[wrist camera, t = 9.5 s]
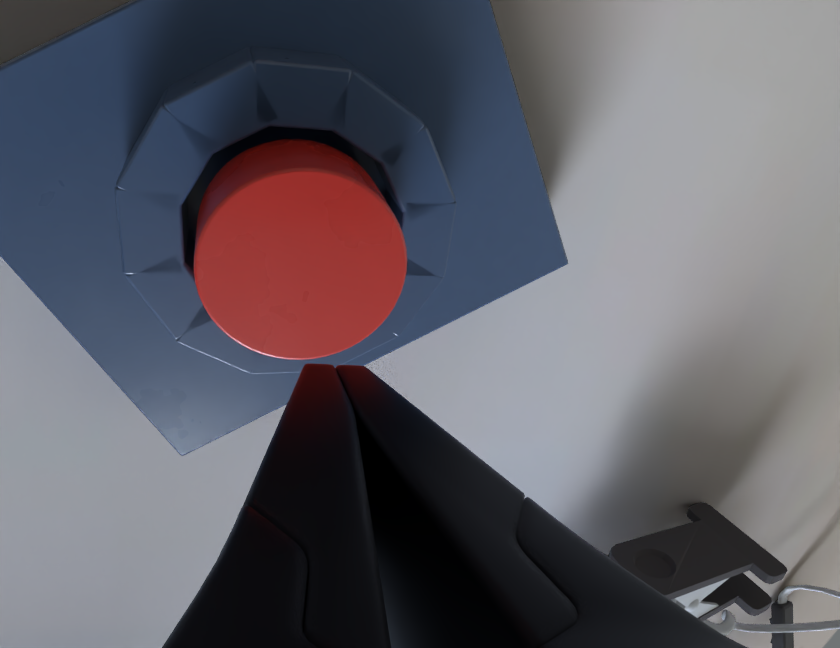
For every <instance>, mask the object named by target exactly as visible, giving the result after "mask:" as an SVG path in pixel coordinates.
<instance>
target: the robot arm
mask: <svg viewBox="0 0 840 648" xmlns="http://www.w3.org/2000/svg"><path fill="white" fill-rule="evenodd" d="M524 497H525V495H524V493H523V492H521V491H520V490H519V489H518V488H516V487H515V486H514V485H513V484H511V483H510V482H509V481H508V480H506V479H505V478H504V477H503V476H501V475H500V474H499V473H498V472H496V471H495V470H494V469H493V468H491V467H490V466H489V465H488V464H486V463H485V462H484V461H483V460H481V459H480V458H479V457H478V456H476V455H475V454H474V453H473V452H471V451H470V450H469V449H468V448H466V447H465V446H464V445H463V444H461V443H460V442H459V441H458V440H456V439H455V438H454V437H453V436H451V435H450V434H449V433H448V432H446V431H445V430H444V429H443V428H441V427H440V426H439V425H438V424H436V423H435V422H434V421H433V420H431V419H430V418H429V417H428V416H426V415H425V414H424V413H423V412H421V411H420V410H419V409H418V408H416V407H415V406H414V405H413V404H411V403H410V402H409V401H408V400H406V399H405V398H404V397H403V396H401V395H400V394H399V393H398V392H396V391H395V390H394V389H393V388H391V387H390V386H389V385H388V384H386V383H385V382H384V381H383V380H381V379H380V378H379V377H378V376H376V375H375V374H374V373H373V372H371V371H370V370H369V369H368V368H366V367H365V366H359V365H338V366H336V368H335V367H334V366H333V365H331V364H311V363H309V364H305V365H304V367H303V369H302V371H301V373H300V376H299V378H298V380H297V383H296V385H295V387H294V389H293V392H292V394H291V396H290V399H289V401H288V403H287V406H286V408H285V410H284V412H283V415H282V417H281V419H280V422H279V424H278V426H277V429H276V431H275V433H274V436H273V438H272V440H271V442H270V445H269V447H268V449H267V452H266V454H265V456H264V459H263V461H262V463H261V466H260V468H259V470H258V472H257V475H256V477H255V479H254V482H253V484H252V486H251V489H250V491H249V493H248V495H247V498H246V500H245V502H244V505H243V507H242V508H241V511H240V513H239V515H238V517H237V520H236V522H235V524H234V527H233V529H232V531H231V533H230V535H229V537H228V539H227V541H226V543H225V545H224V547H223V549H222V551H221V553H220V555H219V557H218V559H217V561H216V563H215V565H214V566H213V568H212V570H211V571H210V573H209V575H208V576H207V578H206V580H205V581H204V583H203V585H202V586H201V588H200V590H199V591H198V593H197V595H196V596H195V598H194V600H193V601H192V603H191V604H190V606H189V607H188V609H187V610H186V612H185V613H184V615H183V616H182V618H181V619H180V621H179V623H178V624H177V626H176V627H175V629H174V630H173V632H172V633H171V635H170V636H169V638H168V639H167V641H166V642H165V644H164V645H163V647H162V648H747V647H745V646H743V645H741V644H739V643H737V642H735V641H733V640H731V639H729V638H727V637H726V636H724V635H723V634H721V633H719V632H718V631H716V630H715V629H713V628H711V627H710V626H708V625H707V624H706V623H704V622H703V621H701V620H700V619H698V618H697V617H695V616H694V615H692V614H691V613H689V612H688V611H686V610H685V609H683V608H682V607H680V606H679V605H678V604H676V603H675V602H673V601H672V600H670V599H669V598H667V597H666V596H664V595H663V594H661V593H660V592H658V591H657V590H655V589H654V588H653V587H651V586H650V585H648V584H647V583H645V582H644V581H642V580H641V579H639V578H638V577H636V576H635V575H633V574H632V573H630V572H629V571H627V570H626V569H625V568H623V567H622V566H620V565H619V564H617V563H616V562H614V561H613V560H612V559H610V558H609V557H607V556H606V555H604V554H603V553H602V552H600V551H599V550H597V549H596V548H594V547H593V546H592V545H590V544H589V543H587V542H586V541H585V540H583V539H582V538H580V537H579V536H578V535H577V534H575V533H574V532H573V531H571V530H570V529H569V528H567V527H566V526H565V525H563V524H562V523H561V522H560V521H558V520H557V519H556V518H554V517H553V516H552V515H550V514H549V513H548V512H547V511H545V510H544V509H543V508H542V507H540V506H539V505H538V504H537V503H535V502H534V501H533V500H532V499H530V498H529V497H526V498H525V499H524Z"/></svg>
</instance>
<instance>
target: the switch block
mask: <svg viewBox="0 0 840 648" xmlns="http://www.w3.org/2000/svg"><path fill="white" fill-rule="evenodd" d="M282 139H304V140H311V141H316V142H319V143H323V144H326V145H329V146H331V147H333V148H336V149H338V150H340V151H341V152H343V153H345V154H347V155H348V156H350V157H351V158H352V159H353V160H355V161H356V162H357V163H358V164H359V165H360V166H361V167H362V168H363V169H364V170H365V171H366V172H367V173H368V174H369V176H370V177H371V178H372V180H373V181H374V183H375V184H376V186H377V187H378V189H379V191H380V192H381V194H382V195H383V197H384V199H385V200H386V202H387V203H388V205H389V207H390V208H391V210H392V212H393V213H394V215H395V217H396V219H397V220H398V222H399V224H400V227H401V230H402V232H403V235H404V239H405V243H406V249H407V272H406V277H405V282H404V285H403V288H402V291H401V294H400V296H399V298H398V300H397V302H396V304H395V306H394V308H393V309H392V311H391V312H390V314H389V315H388V317H387V318H386V319H385V320H384V322H383V323H382V324H381V325H380V326H379V327H378V328H377V329H376V330H375V331H374V332H373V333H371V334H370V335H369V336H368V337H366V338H365V339H363V340H362V341H361V342H359V343H357V344H355V345H354V346H352V347H350V348H348V349H345V350H343V351H341V352H339V353H335V354H332V355H329V356H325V357H320V358H315V359H304V360H290V359H281V358H275V357H271V356H267V355H263V354H260V353H258V352H255V351H252V350H250V349H248V348H246V347H244V346H242V345H241V344H239V343H237V342H236V341H235V340H233V339H232V338H230V337H229V336H228V335H227V334H226V333H224V332H223V331H222V330H221V329H220V328H219V327H218V326H217V325H216V323H215V322H214V321H213V320H212V319H211V318H210V316H209V314H208V313H207V311H206V310H205V308H204V306H203V304H202V302H201V299H200V297H199V295H198V291H197V288H196V284H195V278H194V251H195V239H196V228H197V218H198V212H199V207H200V204H201V201H202V198H203V195H204V193H205V191H206V189H207V187H208V185H209V183H210V182H211V181H212V179H213V178H214V176H215V175H216V174H217V173H218V171H219V170H220V169H221V168H222V167H223V166H224V165H225V164H226V163H228V162H229V161H230V160H231V159H233V158H234V157H235V156H237V155H238V154H240V153H242V152H244V151H245V150H247V149H249V148H252V147H254V146H256V145H259V144H262V143H266V142H270V141H274V140H282ZM0 256H1V257H2V258H3V259H4V260H5V261H6V263H7V264H8V265H9V266H10V267H11V268H12V269H13V270H14V271H15V273H16V274H17V275H18V276H19V277H20V278H21V279H22V280H23V281H24V282H25V284H26V285H27V286H28V287H29V288H30V289H31V290H32V291H33V292H34V294H35V295H36V296H37V297H38V298H39V299H40V300H41V301H42V302H43V303H44V305H45V306H46V307H47V308H48V309H49V310H50V311H51V312H52V313H53V315H54V316H55V317H56V318H57V319H58V320H59V321H60V322H61V323H62V324H63V326H64V327H65V328H66V329H67V330H68V331H69V332H70V333H71V334H72V336H73V337H74V338H75V339H76V340H77V341H78V342H79V343H80V344H81V345H82V347H83V348H84V349H85V350H86V351H87V352H88V353H89V354H90V355H91V357H92V358H93V359H94V360H95V361H96V362H97V363H98V364H99V365H100V366H101V368H102V369H103V370H104V371H105V372H106V373H107V374H108V375H109V376H110V378H111V379H112V380H113V381H114V382H115V383H116V384H117V385H118V386H119V387H120V389H121V390H122V391H123V392H124V393H125V394H126V395H127V396H128V397H129V399H130V400H131V401H132V402H133V403H134V404H135V405H136V406H137V407H138V408H139V410H140V411H141V412H142V413H143V414H144V415H145V416H146V417H147V418H148V420H149V421H150V422H151V423H152V424H153V425H154V426H155V427H156V428H157V429H158V431H159V432H160V433H161V434H162V435H163V436H164V437H165V438H166V439H167V441H168V442H169V443H170V444H171V445H172V446H173V447H174V448H175V449H176V450H177V452H178V453H179V454H180V455H181V456H183V455H185V454H187V453H189V452H191V451H193V450H195V449H197V448H199V447H201V446H203V445H205V444H207V443H209V442H211V441H213V440H215V439H217V438H219V437H221V436H223V435H226V434H228V433H230V432H232V431H234V430H236V429H238V428H240V427H242V426H244V425H246V424H248V423H250V422H252V421H254V420H256V419H258V418H260V417H262V416H264V415H266V414H268V413H270V412H272V411H274V410H276V409H278V408H280V407H282V406H284V405H286V404H287V403H288V401H289V399H290V396H291V394H292V392H293V389H294V387H295V385H296V383H297V380H298V378H299V376H300V373H301V371H302V369H303V367H304V365H305V364H309V363H311V364H331V365H333V366H334V367H335V368H336V366H338V365H359V366H364V365H366V364H368V363H370V362H372V361H374V360H376V359H378V358H380V357H382V356H384V355H386V354H388V353H390V352H392V351H394V350H396V349H398V348H400V347H402V346H404V345H406V344H408V343H410V342H412V341H414V340H416V339H418V338H420V337H422V336H424V335H426V334H428V333H430V332H432V331H434V330H436V329H438V328H440V327H442V326H444V325H446V324H448V323H450V322H452V321H454V320H456V319H458V318H460V317H462V316H464V315H466V314H468V313H470V312H472V311H474V310H476V309H478V308H480V307H482V306H484V305H486V304H488V303H490V302H492V301H494V300H496V299H498V298H500V297H502V296H504V295H506V294H508V293H510V292H512V291H514V290H516V289H518V288H520V287H522V286H524V285H526V284H528V283H530V282H532V281H534V280H536V279H538V278H540V277H542V276H544V275H546V274H548V273H550V272H552V271H554V270H556V269H558V268H560V267H562V266H564V265H566V264H568V260H567V257H566V254H565V250H564V247H563V244H562V240H561V237H560V234H559V230H558V227H557V224H556V220H555V217H554V214H553V210H552V207H551V204H550V200H549V197H548V194H547V190H546V187H545V184H544V180H543V177H542V174H541V170H540V167H539V164H538V160H537V157H536V154H535V150H534V147H533V144H532V140H531V137H530V134H529V130H528V127H527V124H526V120H525V117H524V114H523V110H522V107H521V104H520V100H519V97H518V94H517V90H516V87H515V84H514V80H513V77H512V74H511V70H510V67H509V64H508V60H507V57H506V54H505V50H504V47H503V44H502V40H501V37H500V34H499V30H498V27H497V24H496V20H495V17H494V14H493V10H492V7H491V4H490V0H131V1H129V2H127V3H125V4H123V5H121V6H119V7H117V8H115V9H113V10H111V11H109V12H107V13H105V14H103V15H101V16H99V17H97V18H95V19H93V20H91V21H88V22H86V23H84V24H82V25H80V26H78V27H76V28H74V29H72V30H70V31H68V32H66V33H64V34H62V35H60V36H58V37H56V38H54V39H52V40H50V41H48V42H46V43H44V44H42V45H40V46H38V47H36V48H34V49H32V50H30V51H28V52H26V53H23V54H21V55H19V56H17V57H15V58H13V59H11V60H9V61H7V62H5V63H3V64H1V65H0Z"/></svg>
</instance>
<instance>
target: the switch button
mask: <svg viewBox="0 0 840 648" xmlns="http://www.w3.org/2000/svg"><path fill="white" fill-rule="evenodd" d="M406 272H407V249H406V243H405V239H404V235H403V232H402V230H401V227H400V224H399V222H398V220H397V219H396V217H395V215H394V213H393V212H392V210H391V208H390V207H389V205H388V203H387V202H386V200H385V199H384V197H383V195H382V194H381V192H380V191H379V189H378V187H377V186H376V184H375V183H374V181H373V180H372V178H371V177H370V176H369V174H368V173H367V172H366V171H365V170H364V169H363V168H362V167H361V166H360V165H359V164H358V163H357V162H356V161H355V160H353V159H352V158H351V157H350V156H348V155H347V154H345V153H343V152H341V151H340V150H338V149H336V148H333V147H331V146H329V145H326V144H323V143H319V142H316V141H311V140H304V139H282V140H274V141H270V142H266V143H262V144H259V145H256V146H254V147H252V148H249V149H247V150H245V151H244V152H242V153H240V154H238V155H237V156H235V157H234V158H233V159H231V160H230V161H229V162H228V163H226V164H225V165H224V166H223V167H222V168H221V169H220V170H219V171H218V173H217V174H216V175H215V176H214V178H213V179H212V181H211V182H210V183H209V185H208V187H207V189H206V191H205V193H204V195H203V198H202V201H201V204H200V207H199V212H198V218H197V228H196V239H195V251H194V278H195V284H196V288H197V291H198V295H199V297H200V299H201V302H202V304H203V306H204V308H205V310H206V311H207V313H208V314H209V316H210V318H211V319H212V320H213V321H214V322H215V323H216V325H217V326H218V327H219V328H220V329H221V330H222V331H223V332H224V333H226V334H227V335H228V336H229V337H230V338H232V339H233V340H235V341H236V342H237V343H239V344H241V345H242V346H244V347H246V348H248V349H250V350H252V351H255V352H258V353H260V354H263V355H267V356H271V357H275V358H281V359H290V360H304V359H315V358H320V357H325V356H329V355H332V354H335V353H339V352H341V351H343V350H345V349H348V348H350V347H352V346H354V345H355V344H357V343H359V342H361V341H362V340H363V339H365V338H366V337H368V336H369V335H370V334H371V333H373V332H374V331H375V330H376V329H377V328H378V327H379V326H380V325H381V324H382V323H383V322H384V320H385V319H386V318H387V317H388V315H389V314H390V312H391V311H392V309H393V308H394V306H395V304H396V302H397V300H398V298H399V296H400V294H401V291H402V288H403V285H404V282H405V277H406Z"/></svg>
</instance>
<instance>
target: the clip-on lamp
mask: <svg viewBox="0 0 840 648" xmlns="http://www.w3.org/2000/svg"><path fill="white" fill-rule="evenodd" d="M686 514H687V517H688V518H689V519H690V520H691V521H692V522H693V523H689V524H686V525H682V526H679V527H675V528H672V529H668V530H665V531H661V532H658V533H654V534H651V535H647V536H644V537H640V538H637V539H633V540H630V541H626V542H623V543H619V544H616V545H615V546H613V547H612V548H611V551H610V553H609V556H608V557H609V558H610V559H612V560H613V561H614V562H616V563H617V564H619V565H620V566H622V567H623V568H625V569H626V570H627V571H629V572H630V573H632V574H633V575H635V576H636V577H638V578H639V579H641V580H642V581H644V582H645V583H647V584H648V585H650V586H651V587H653V588H654V589H655V590H657V591H658V592H660V593H661V594H663V595H664V596H666V597H667V598H669V599H670V600H672V601H673V602H675V603H676V604H678V605H679V606H680V607H682V608H683V609H685V610H686V611H688V612H689V613H691V614H692V615H694V616H695V617H697V618H698V619H700V620H701V621H703V622H704V623H706V624H707V625H708V626H710V627H711V628H713V629H715V630H716V631H718V632H719V633H721V634H723V635H727V634H729V633H730V632H731V631H732V630H733V629H735V630H739V631H745V632H761V633H772V639H771V643H772V648H794V640H793V632H806V631H822V630H831V629H839V628H840V620H834V621H824V622H813V623H795V624H793V604H792V602H790V601H787V596H788V595H789V594H790V593H791V592H792V591H793V590H798V589H806V590H811V591H817V592H822V593H825V594H828V595H831V596H835V597H838V598H840V592H837V591H834V590H831V589H827V588H822V587H816V586H811V585H797V586H787V587H786V588H785V589H784V590H783V591H782V592H781V593H780V594H779V597H778V601H777V602H775V603H773V604H772V606H771V611H772V618H770V619H769V620H770V623H771V624H744V623H738V622H736V619H735V616H734V615H733V614H732V613H731V612H730V611H728V610H723V609H724V608H726V607H728V606H730V605H731V604H733V603H736V604H737V605H739V606H740V607H741V608H742V609H743V610H744V611H745V612H746V613H748V614H749V615H753V616H756V615H759V614H760V613H762V612H764V611H766V610H767V609H768V608H769V606H770V604H771V602H772V600H771V598H770V596H769V595H768V594H767V593H766V592H764V591H763V590H762V589H761V588H760V587H759V586H757V585H756V584H755V583H754V582H753V581H752V580H750V579H749V578H748V577H747V576H746V575H745V574H743V572H746V571H749V570H750V571H751V572H752V573H754V574H755V575H756V576H757V577H758V578H759V579H761V580H762V581H764V582H765V583H768V584H773V583H775V582H777V581H779V580H782V579H783V577H784V575H785V574H786V572H787V568H786V567H785V566H784V565H783V564H782V563H781V562H780V561H778V560H777V559H776V558H775V557H773V556H772V555H771V554H770V553H768V552H767V551H766V550H765V549H764V548H762V547H761V546H760V545H759V544H757V543H756V542H755V541H754V540H752V539H751V538H750V537H749V536H747V535H746V534H745V533H744V532H742V531H741V530H740V529H739V528H737V527H736V526H735V525H734V524H733V523H731V522H730V521H729V520H728V519H726V518H725V517H724V516H723V515H721V514H720V513H719V512H718V511H716V510H715V509H714V508H713V507H711V506H710V505H708V504H706V503H697V504H694V505H691V506H690V507H689V509H688V511H687V513H686ZM721 610H723V612H722V619H723V622H722V623H720V624H715V623H712V622H710V621H708V620H706V619H707V618H709V617H711V616H712V615H714V614H716V613H718V612H719V611H721Z"/></svg>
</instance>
